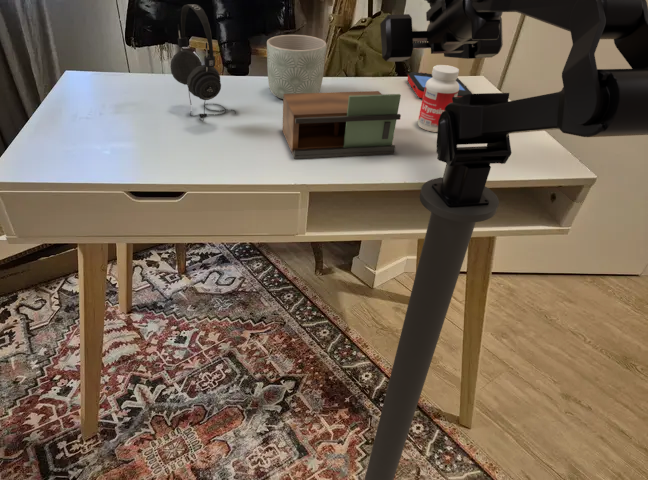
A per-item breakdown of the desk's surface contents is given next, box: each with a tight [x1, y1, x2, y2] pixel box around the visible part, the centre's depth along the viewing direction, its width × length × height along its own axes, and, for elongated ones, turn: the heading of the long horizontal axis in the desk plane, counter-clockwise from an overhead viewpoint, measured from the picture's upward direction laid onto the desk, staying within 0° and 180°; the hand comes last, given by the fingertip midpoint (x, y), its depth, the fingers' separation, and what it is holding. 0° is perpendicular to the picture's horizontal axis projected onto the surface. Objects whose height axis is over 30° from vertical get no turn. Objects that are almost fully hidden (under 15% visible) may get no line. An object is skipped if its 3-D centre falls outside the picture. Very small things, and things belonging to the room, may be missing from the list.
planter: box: [266, 34, 327, 100], centre depth 107 cm, size 12×12×11 cm
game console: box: [407, 71, 473, 100], centre depth 114 cm, size 14×13×2 cm
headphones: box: [170, 3, 237, 122], centre depth 92 cm, size 15×11×20 cm
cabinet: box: [281, 90, 402, 160], centre depth 89 cm, size 12×18×7 cm, turn 100°
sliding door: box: [343, 93, 402, 147], centre depth 85 cm, size 1×9×9 cm, turn 100°
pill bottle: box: [417, 64, 460, 133], centre depth 95 cm, size 6×6×11 cm
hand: (419, 54), depth 85 cm, fingers open, 9 cm apart
